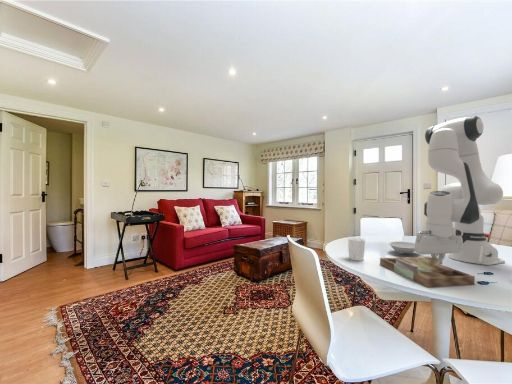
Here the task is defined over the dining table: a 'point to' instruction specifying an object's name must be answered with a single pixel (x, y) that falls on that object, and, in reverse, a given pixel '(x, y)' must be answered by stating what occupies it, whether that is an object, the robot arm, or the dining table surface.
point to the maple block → (428, 263)
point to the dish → (403, 247)
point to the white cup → (356, 248)
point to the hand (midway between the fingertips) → (437, 264)
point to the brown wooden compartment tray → (427, 273)
